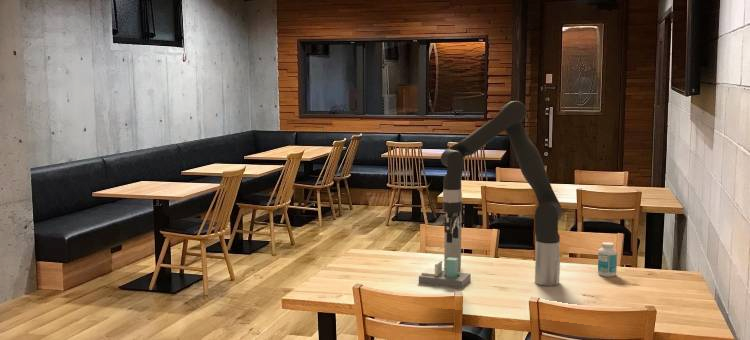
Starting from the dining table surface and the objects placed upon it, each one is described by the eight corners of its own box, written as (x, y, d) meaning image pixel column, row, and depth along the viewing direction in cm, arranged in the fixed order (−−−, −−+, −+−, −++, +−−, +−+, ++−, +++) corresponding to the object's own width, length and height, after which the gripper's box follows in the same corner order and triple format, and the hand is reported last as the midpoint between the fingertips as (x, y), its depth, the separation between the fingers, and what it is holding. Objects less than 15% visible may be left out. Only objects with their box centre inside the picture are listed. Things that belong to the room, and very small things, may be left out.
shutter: (442, 272, 304) (442, 260, 303) (436, 276, 298) (436, 264, 297) (427, 270, 307) (427, 259, 306) (421, 274, 300) (421, 263, 300)
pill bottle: (614, 272, 314) (615, 241, 313) (618, 277, 307) (619, 245, 305) (595, 272, 315) (597, 241, 313) (599, 277, 308) (600, 245, 306)
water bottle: (462, 270, 318) (463, 212, 315) (444, 270, 318) (444, 212, 315) (460, 264, 327) (461, 208, 324) (442, 264, 328) (443, 208, 324)
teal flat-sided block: (458, 282, 301) (458, 258, 299) (455, 284, 297) (455, 260, 296) (448, 281, 302) (448, 257, 301) (445, 283, 298) (445, 259, 297)
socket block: (470, 280, 302) (470, 273, 302) (461, 288, 291) (462, 281, 291) (428, 276, 309) (428, 269, 309) (418, 283, 299) (418, 276, 298)
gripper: (448, 197, 302) (448, 236, 304) (437, 202, 289) (438, 243, 291) (466, 197, 299) (466, 237, 301) (456, 203, 286) (456, 244, 288)
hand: (452, 240), depth 296 cm, fingers open, 8 cm apart
